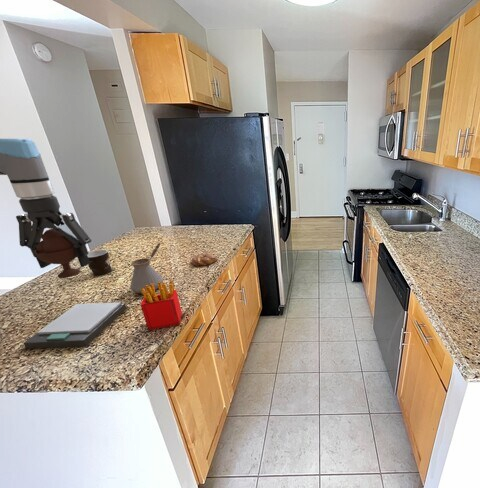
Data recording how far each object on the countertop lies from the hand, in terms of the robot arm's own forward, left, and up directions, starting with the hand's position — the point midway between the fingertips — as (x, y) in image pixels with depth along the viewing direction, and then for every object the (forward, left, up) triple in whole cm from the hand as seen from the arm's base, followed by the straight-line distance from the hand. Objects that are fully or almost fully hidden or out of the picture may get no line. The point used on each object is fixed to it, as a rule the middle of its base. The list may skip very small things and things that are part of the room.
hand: (65, 265), depth 82 cm
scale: (+1, -4, -21) cm, 22 cm away
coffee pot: (+10, +24, -21) cm, 34 cm away
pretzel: (+24, +44, -21) cm, 55 cm away
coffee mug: (-20, +34, -21) cm, 45 cm away
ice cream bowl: (0, 0, -3) cm, 3 cm away
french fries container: (+27, -3, -21) cm, 35 cm away
